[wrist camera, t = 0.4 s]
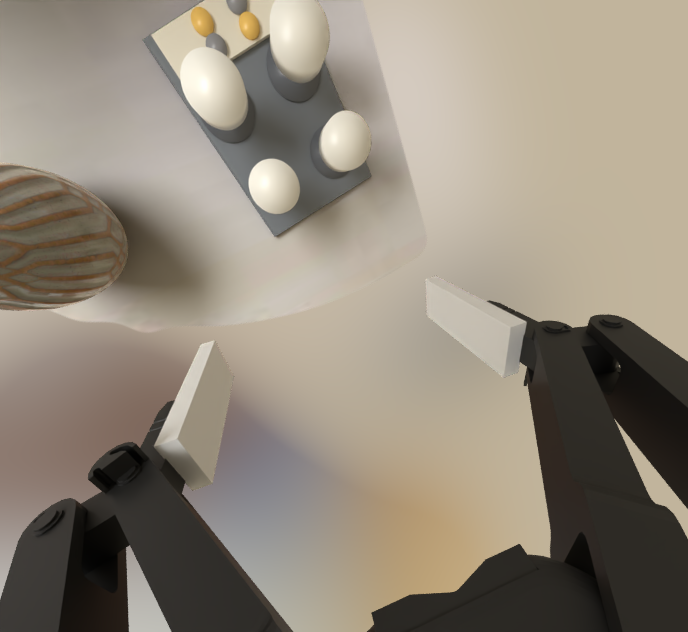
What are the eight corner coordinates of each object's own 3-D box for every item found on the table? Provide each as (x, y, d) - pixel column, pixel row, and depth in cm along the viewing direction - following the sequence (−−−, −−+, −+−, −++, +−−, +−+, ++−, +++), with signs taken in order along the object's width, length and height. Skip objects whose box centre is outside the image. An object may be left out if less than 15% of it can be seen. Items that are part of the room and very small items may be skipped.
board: (145, 43, 26) (138, 34, 25) (278, -44, 26) (278, -57, 24) (274, 236, 37) (274, 237, 35) (370, 176, 36) (373, 175, 35)
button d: (307, 137, 30) (313, 127, 26) (345, 113, 30) (357, 99, 25) (329, 181, 32) (338, 179, 28) (364, 159, 32) (378, 154, 28)
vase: (86, 148, 28) (-138, 93, 13) (170, 255, 34) (88, 305, 19) (-26, 200, 28) (-395, 208, 12) (81, 299, 34) (-77, 386, 19)
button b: (259, 40, 26) (256, 8, 21) (303, 12, 26) (309, -26, 21) (289, 100, 28) (292, 82, 24) (329, 74, 28) (339, 52, 24)
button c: (242, 178, 30) (237, 175, 26) (280, 154, 30) (281, 148, 26) (269, 219, 33) (269, 223, 28) (304, 197, 32) (309, 198, 28)
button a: (183, 89, 26) (165, 67, 21) (227, 61, 26) (218, 33, 21) (220, 144, 28) (210, 134, 24) (259, 118, 28) (257, 104, 24)
